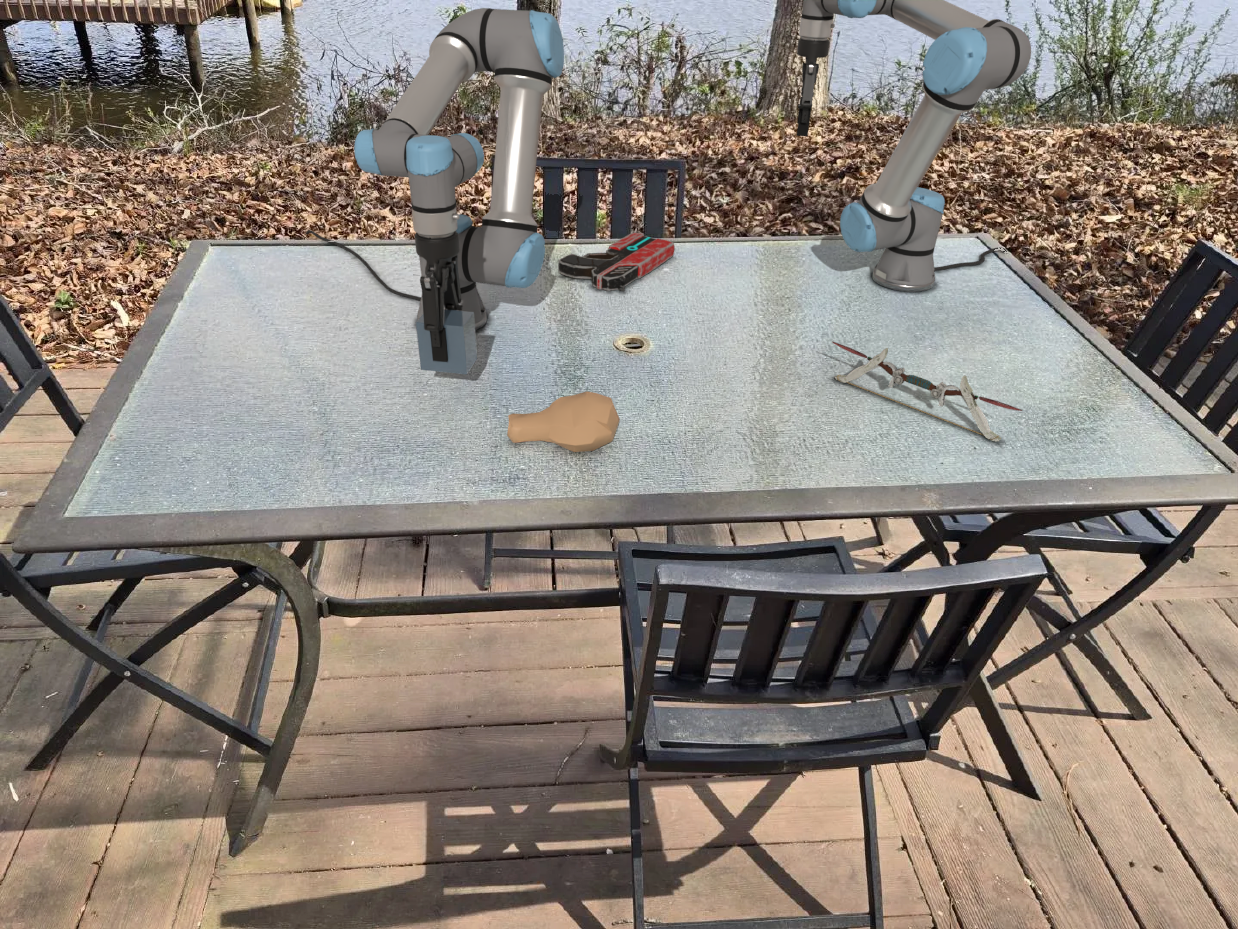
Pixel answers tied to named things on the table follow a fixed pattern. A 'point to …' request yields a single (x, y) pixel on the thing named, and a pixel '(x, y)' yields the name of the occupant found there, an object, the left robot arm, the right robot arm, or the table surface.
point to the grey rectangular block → (450, 343)
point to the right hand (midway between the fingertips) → (802, 129)
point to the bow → (936, 391)
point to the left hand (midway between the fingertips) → (446, 351)
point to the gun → (618, 261)
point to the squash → (569, 423)
